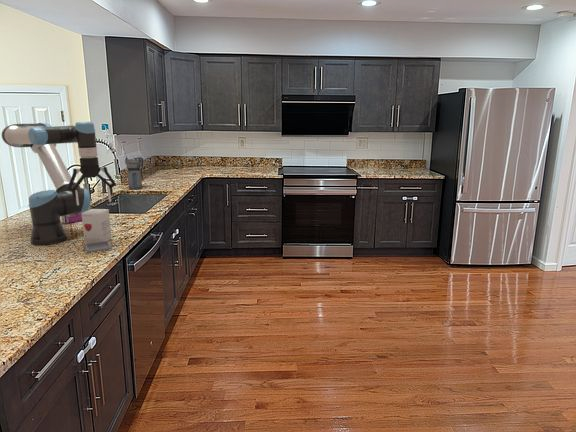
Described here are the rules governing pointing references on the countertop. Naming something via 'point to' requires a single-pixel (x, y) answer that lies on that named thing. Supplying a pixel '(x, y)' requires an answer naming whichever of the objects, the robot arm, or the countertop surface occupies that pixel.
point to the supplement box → (96, 225)
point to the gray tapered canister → (134, 173)
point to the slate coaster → (97, 246)
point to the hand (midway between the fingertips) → (94, 203)
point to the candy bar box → (72, 218)
